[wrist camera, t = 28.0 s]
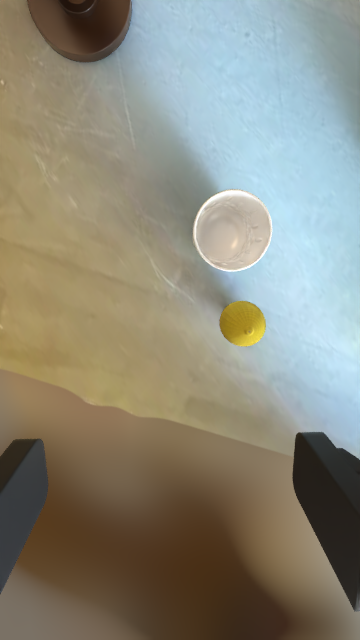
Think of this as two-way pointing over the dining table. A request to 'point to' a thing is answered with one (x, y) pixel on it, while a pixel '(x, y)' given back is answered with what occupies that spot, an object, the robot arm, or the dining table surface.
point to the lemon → (242, 323)
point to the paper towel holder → (82, 26)
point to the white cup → (232, 230)
